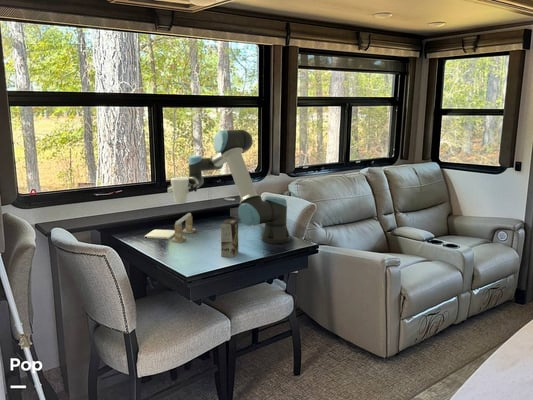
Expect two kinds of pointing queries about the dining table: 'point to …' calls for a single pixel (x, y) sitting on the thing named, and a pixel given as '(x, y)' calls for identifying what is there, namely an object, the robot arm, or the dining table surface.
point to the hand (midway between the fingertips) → (177, 191)
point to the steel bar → (183, 218)
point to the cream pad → (161, 234)
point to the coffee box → (229, 238)
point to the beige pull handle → (178, 230)
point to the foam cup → (179, 189)
